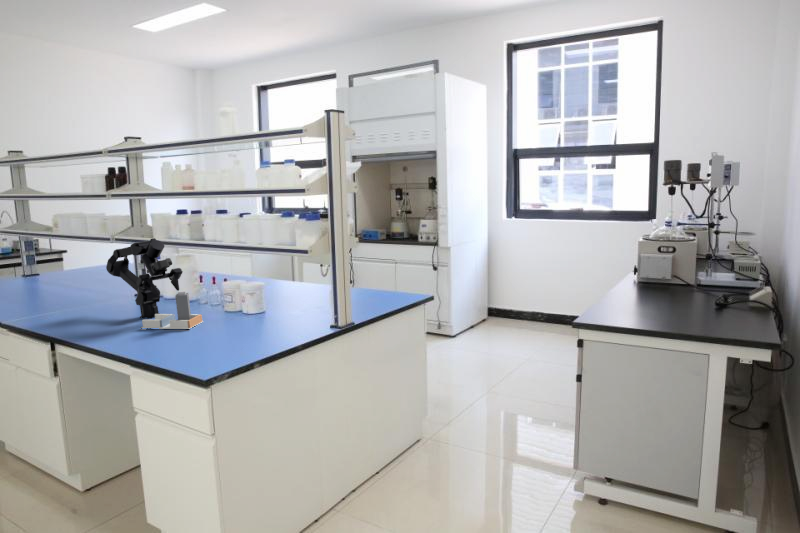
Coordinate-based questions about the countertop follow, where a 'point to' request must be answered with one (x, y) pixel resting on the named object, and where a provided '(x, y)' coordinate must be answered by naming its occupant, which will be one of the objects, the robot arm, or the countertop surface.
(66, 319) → the countertop surface
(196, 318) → the white tray with rails
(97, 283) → the countertop surface
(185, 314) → the grey pedestal with block
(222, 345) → the countertop surface
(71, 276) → the countertop surface
